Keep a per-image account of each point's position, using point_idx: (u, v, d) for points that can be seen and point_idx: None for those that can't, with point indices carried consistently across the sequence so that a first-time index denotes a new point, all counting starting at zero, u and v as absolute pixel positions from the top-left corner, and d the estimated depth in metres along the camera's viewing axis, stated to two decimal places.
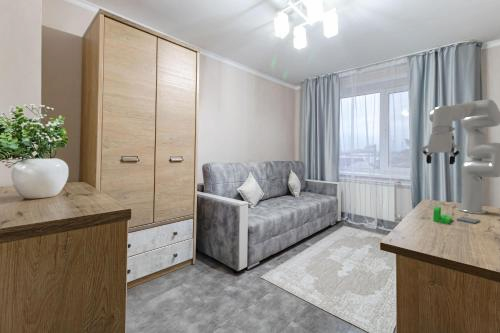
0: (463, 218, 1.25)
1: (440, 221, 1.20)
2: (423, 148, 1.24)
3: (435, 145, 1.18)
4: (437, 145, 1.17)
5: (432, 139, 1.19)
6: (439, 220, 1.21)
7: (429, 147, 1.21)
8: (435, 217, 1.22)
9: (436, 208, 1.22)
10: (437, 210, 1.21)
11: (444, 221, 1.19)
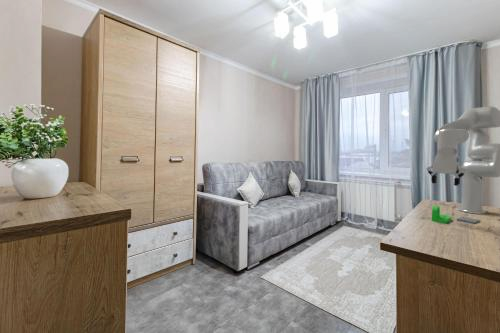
0: (463, 218, 1.25)
1: (438, 221, 1.21)
2: (428, 168, 1.28)
3: (440, 166, 1.22)
4: (442, 166, 1.21)
5: (437, 160, 1.23)
6: (437, 220, 1.21)
7: (434, 168, 1.25)
8: (433, 216, 1.23)
9: (434, 208, 1.23)
10: (435, 210, 1.22)
11: (442, 221, 1.20)
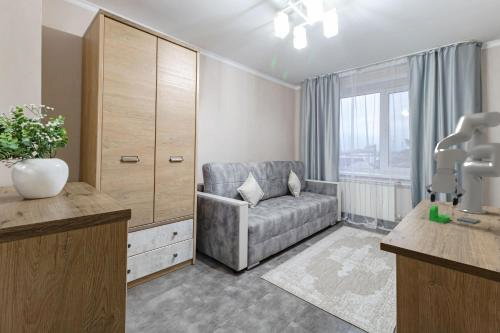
0: (463, 218, 1.25)
1: (435, 220, 1.22)
2: (427, 186, 1.29)
3: (439, 186, 1.23)
4: (441, 186, 1.22)
5: (436, 179, 1.24)
6: (435, 219, 1.22)
7: (433, 187, 1.25)
8: (431, 216, 1.24)
9: (432, 207, 1.24)
10: (433, 209, 1.23)
11: (439, 220, 1.21)
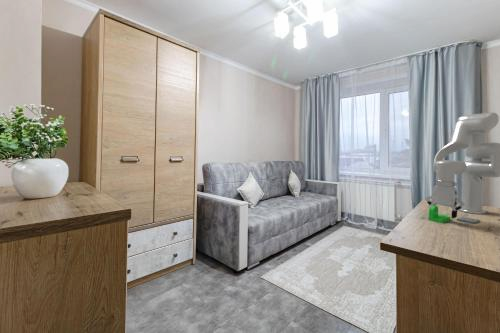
0: (463, 218, 1.25)
1: (435, 220, 1.22)
2: (427, 198, 1.30)
3: (438, 198, 1.23)
4: (440, 198, 1.23)
5: (436, 191, 1.24)
6: (434, 219, 1.23)
7: (433, 198, 1.26)
8: (430, 216, 1.24)
9: (431, 207, 1.24)
10: (432, 209, 1.23)
11: (438, 220, 1.21)
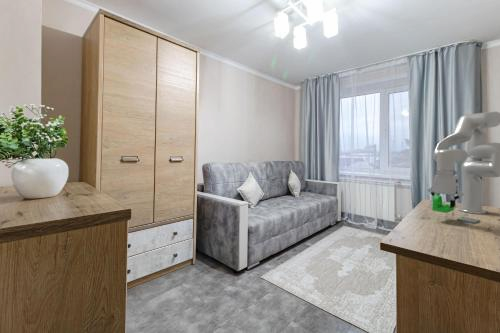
0: (463, 218, 1.25)
1: (439, 210, 1.21)
2: (430, 190, 1.29)
3: (439, 187, 1.23)
4: (442, 187, 1.22)
5: (437, 181, 1.24)
6: (438, 209, 1.21)
7: (434, 188, 1.26)
8: (434, 205, 1.23)
9: (435, 197, 1.23)
10: (436, 199, 1.22)
11: (442, 210, 1.20)
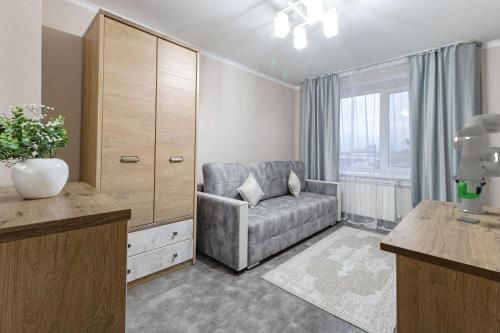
0: (463, 218, 1.25)
1: (464, 196, 1.20)
2: (454, 177, 1.27)
3: (465, 174, 1.22)
4: (467, 173, 1.21)
5: (462, 167, 1.23)
6: (463, 195, 1.20)
7: (459, 175, 1.24)
8: (459, 192, 1.22)
9: (461, 184, 1.22)
10: (461, 185, 1.21)
11: (468, 196, 1.18)
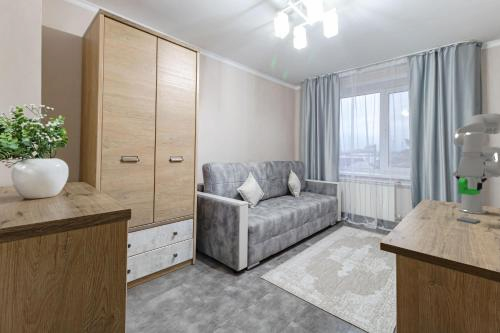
0: (463, 218, 1.25)
1: (465, 192, 1.19)
2: (454, 173, 1.27)
3: (465, 170, 1.22)
4: (468, 169, 1.21)
5: (463, 163, 1.23)
6: (464, 191, 1.20)
7: (459, 171, 1.24)
8: (460, 188, 1.21)
9: (461, 179, 1.21)
10: (462, 181, 1.21)
11: (469, 192, 1.18)
